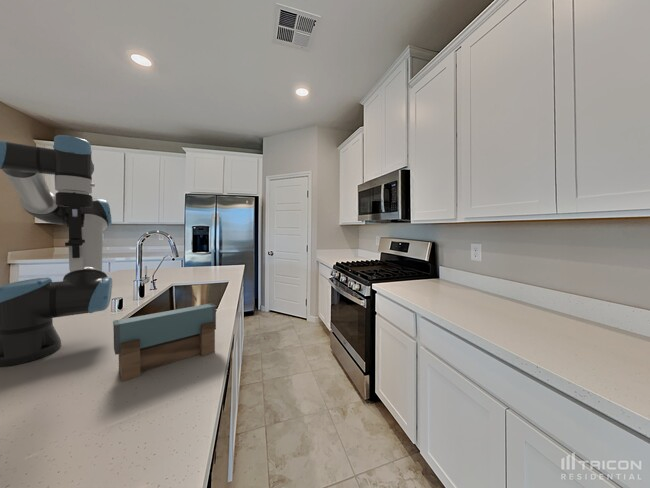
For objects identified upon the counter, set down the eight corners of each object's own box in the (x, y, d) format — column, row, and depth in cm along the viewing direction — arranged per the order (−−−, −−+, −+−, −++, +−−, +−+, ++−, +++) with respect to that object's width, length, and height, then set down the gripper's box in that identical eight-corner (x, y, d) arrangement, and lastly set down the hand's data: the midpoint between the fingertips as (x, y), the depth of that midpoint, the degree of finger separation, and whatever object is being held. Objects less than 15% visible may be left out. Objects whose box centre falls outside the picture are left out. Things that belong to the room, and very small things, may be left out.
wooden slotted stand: (118, 370, 71) (118, 335, 71) (206, 344, 88) (206, 316, 88) (121, 381, 66) (121, 344, 66) (214, 352, 83) (214, 322, 82)
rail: (113, 349, 69) (113, 320, 69) (211, 325, 87) (211, 303, 87) (115, 354, 66) (114, 325, 66) (215, 329, 84) (215, 305, 84)
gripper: (94, 190, 66) (96, 271, 67) (91, 197, 84) (92, 261, 85) (51, 186, 60) (54, 274, 62) (58, 195, 78) (60, 262, 79)
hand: (76, 266), depth 73 cm, fingers open, 13 cm apart
